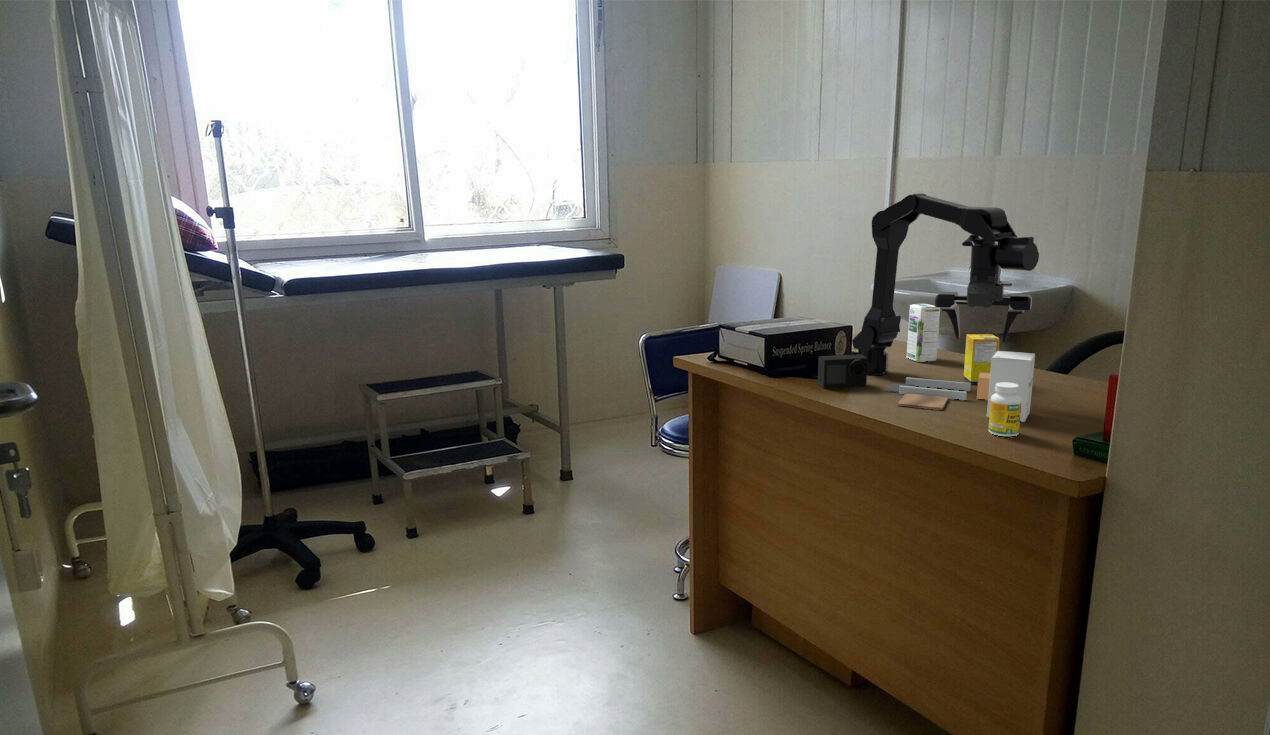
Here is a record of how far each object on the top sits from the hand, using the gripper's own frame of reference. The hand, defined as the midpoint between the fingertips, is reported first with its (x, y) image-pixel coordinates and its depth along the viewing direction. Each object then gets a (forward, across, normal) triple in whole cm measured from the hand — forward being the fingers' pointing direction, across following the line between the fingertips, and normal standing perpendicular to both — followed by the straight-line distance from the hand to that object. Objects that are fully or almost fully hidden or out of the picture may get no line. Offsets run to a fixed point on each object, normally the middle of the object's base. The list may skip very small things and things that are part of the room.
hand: (980, 340), depth 178 cm
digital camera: (+12, -29, -2) cm, 32 cm away
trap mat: (+12, -16, 0) cm, 21 cm away
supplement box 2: (+13, +7, -12) cm, 19 cm away
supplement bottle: (+13, +7, -26) cm, 30 cm away
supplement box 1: (+13, -1, +14) cm, 19 cm away
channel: (+12, -9, 0) cm, 15 cm away
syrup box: (+12, -17, +33) cm, 39 cm away
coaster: (+12, -10, -10) cm, 19 cm away
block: (+13, +2, +1) cm, 13 cm away
